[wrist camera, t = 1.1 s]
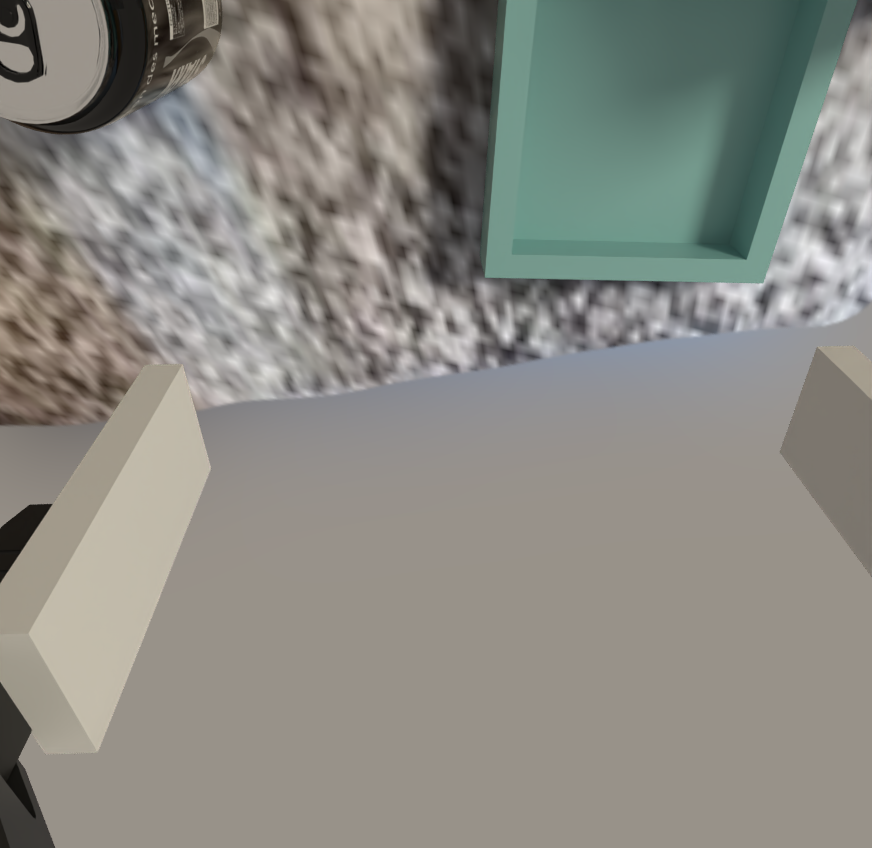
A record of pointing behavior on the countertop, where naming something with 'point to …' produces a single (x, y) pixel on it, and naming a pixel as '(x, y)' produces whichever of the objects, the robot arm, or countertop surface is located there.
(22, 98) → the beverage can
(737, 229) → the collection tray
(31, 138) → the countertop surface
